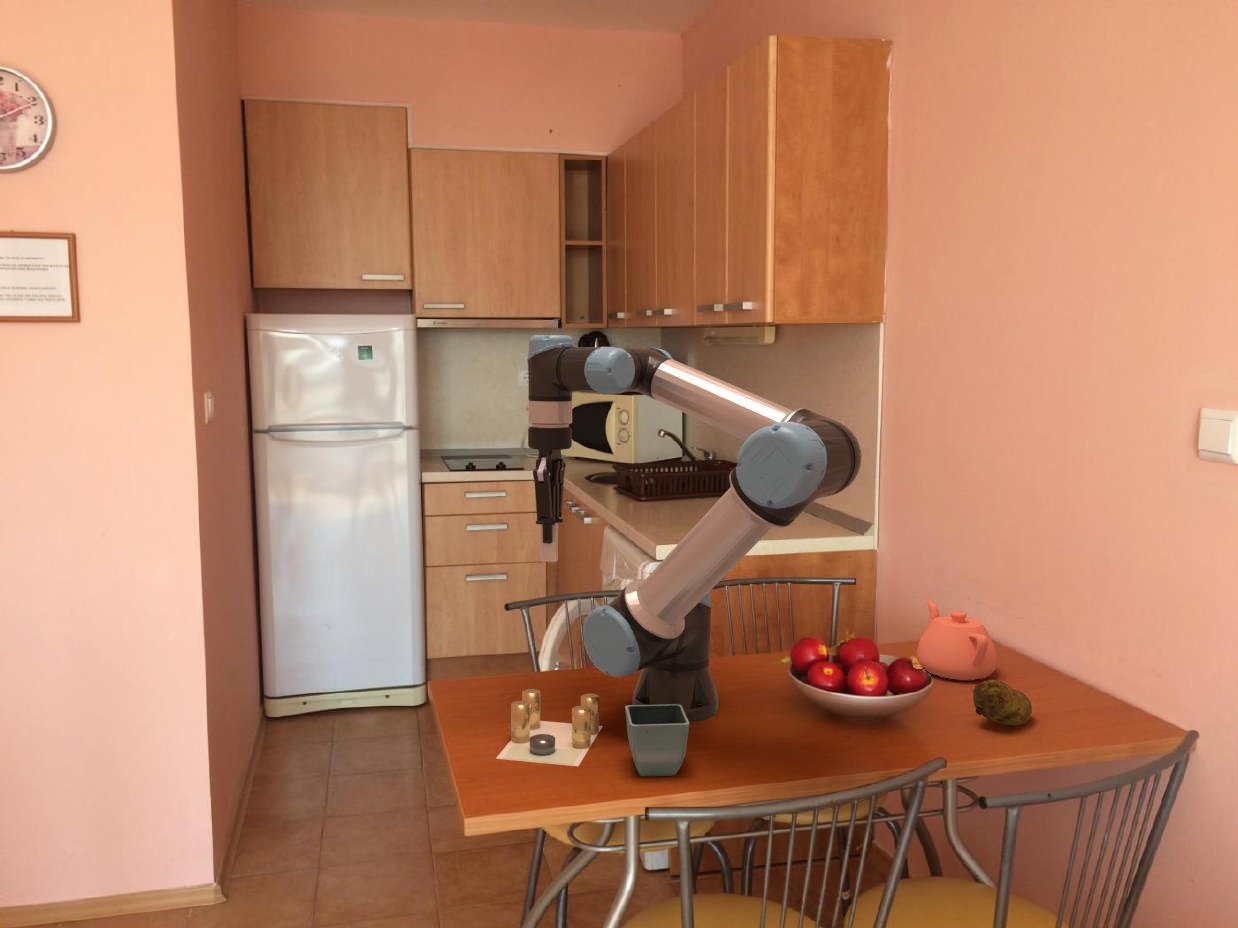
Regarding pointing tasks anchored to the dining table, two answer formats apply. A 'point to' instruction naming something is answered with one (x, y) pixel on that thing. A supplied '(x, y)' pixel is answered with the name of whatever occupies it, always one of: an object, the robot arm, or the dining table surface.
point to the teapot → (956, 646)
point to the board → (562, 746)
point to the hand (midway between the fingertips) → (549, 560)
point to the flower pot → (657, 738)
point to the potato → (1001, 703)
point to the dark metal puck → (542, 744)
